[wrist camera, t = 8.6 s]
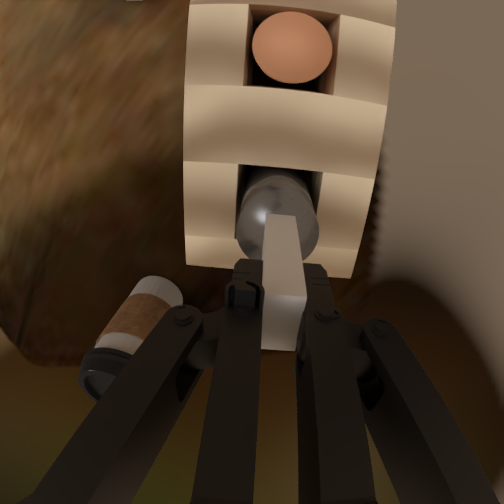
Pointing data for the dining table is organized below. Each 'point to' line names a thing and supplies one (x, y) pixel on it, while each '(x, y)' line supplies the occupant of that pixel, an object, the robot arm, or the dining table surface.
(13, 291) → the dining table surface
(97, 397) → the coffee cup
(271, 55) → the peg terracotta
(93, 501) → the robot arm
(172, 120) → the dining table surface
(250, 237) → the peg steel
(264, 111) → the birch block
